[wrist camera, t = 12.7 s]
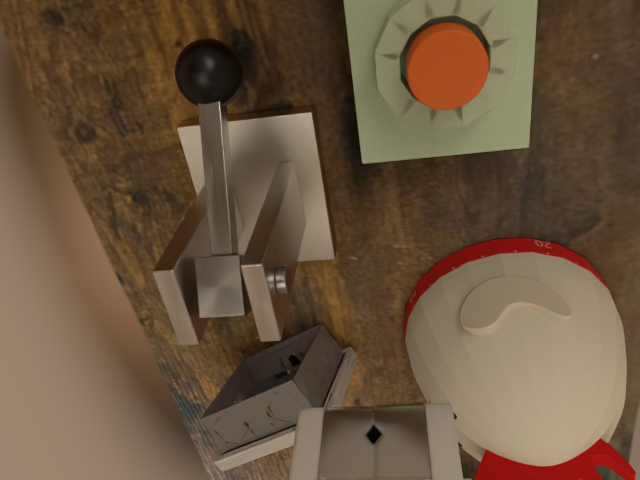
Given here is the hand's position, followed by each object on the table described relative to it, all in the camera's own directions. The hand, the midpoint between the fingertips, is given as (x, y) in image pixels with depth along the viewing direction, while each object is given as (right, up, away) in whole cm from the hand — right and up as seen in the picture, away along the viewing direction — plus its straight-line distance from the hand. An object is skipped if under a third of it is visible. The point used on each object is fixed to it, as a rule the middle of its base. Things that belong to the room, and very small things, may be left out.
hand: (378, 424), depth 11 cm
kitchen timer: (+12, -2, +28) cm, 30 cm away
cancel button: (+5, +12, +15) cm, 20 cm away
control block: (+5, +14, +18) cm, 23 cm away
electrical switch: (-4, -5, +31) cm, 32 cm away
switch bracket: (-5, +7, +24) cm, 25 cm away
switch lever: (-6, +7, +17) cm, 19 cm away
